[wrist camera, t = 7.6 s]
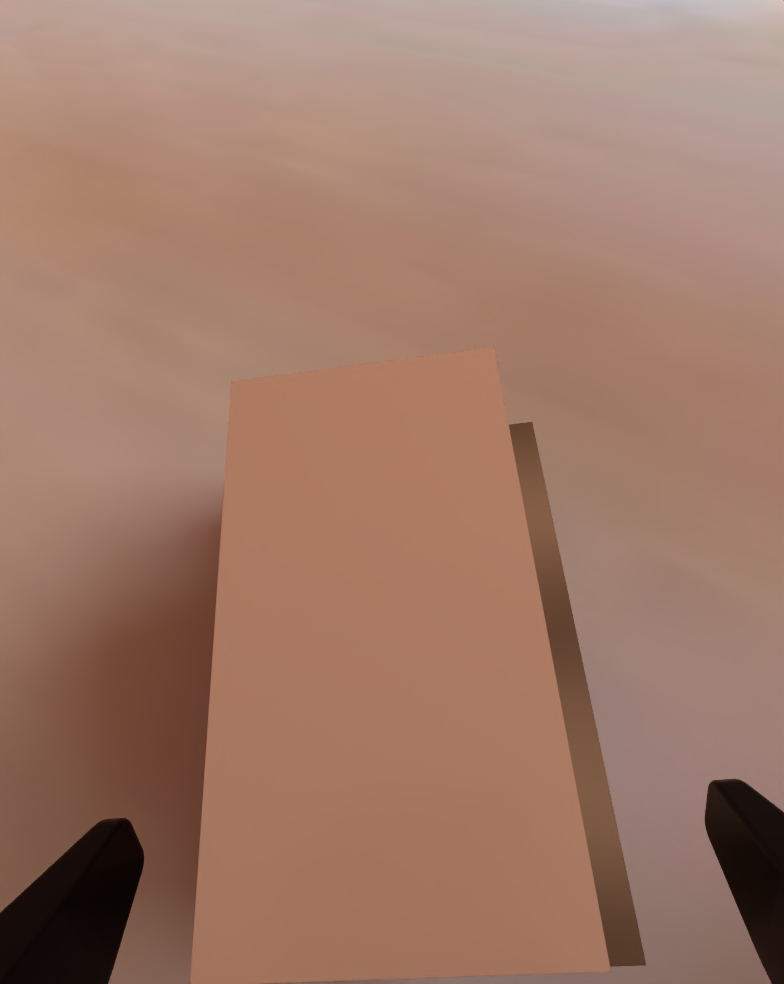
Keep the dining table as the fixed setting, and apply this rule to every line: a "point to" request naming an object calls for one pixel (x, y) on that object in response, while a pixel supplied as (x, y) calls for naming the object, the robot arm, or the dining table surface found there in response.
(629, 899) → the walnut rack
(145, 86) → the dining table surface
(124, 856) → the robot arm
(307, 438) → the terracotta block
